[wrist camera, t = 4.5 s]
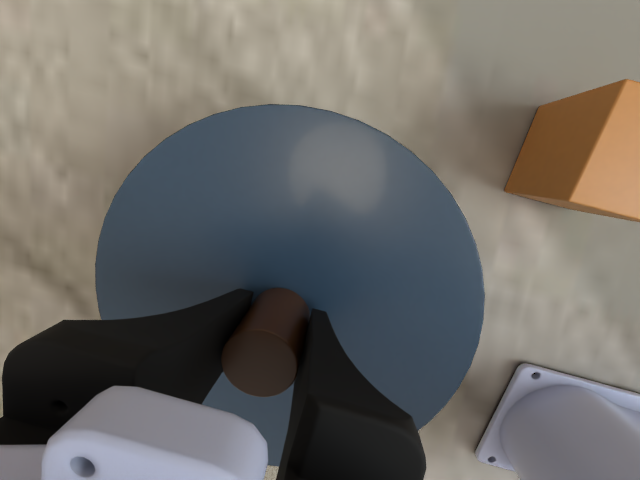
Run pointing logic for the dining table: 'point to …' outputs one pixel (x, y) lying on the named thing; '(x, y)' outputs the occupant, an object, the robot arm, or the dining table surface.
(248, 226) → the pot lid
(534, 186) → the wooden brick
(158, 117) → the dining table surface
